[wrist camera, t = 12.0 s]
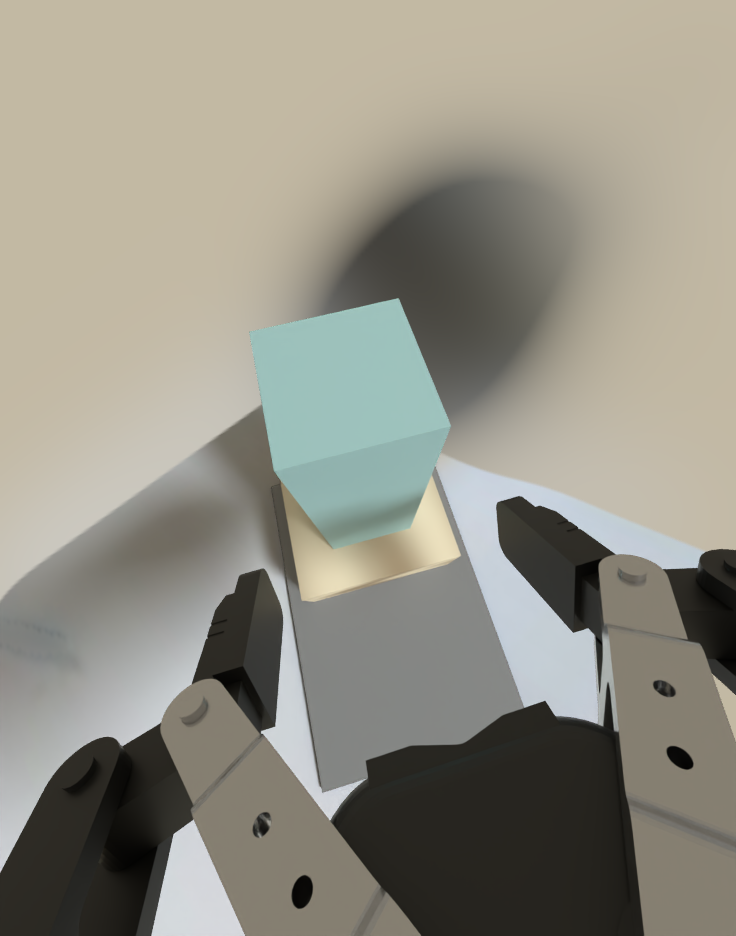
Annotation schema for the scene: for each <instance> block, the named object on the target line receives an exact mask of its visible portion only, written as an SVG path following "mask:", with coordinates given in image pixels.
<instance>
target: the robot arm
mask: <svg viewBox="0 0 736 936" xmlns="http://www.w3.org/2000/svg"><path fill="white" fill-rule="evenodd" d="M496 510H497V523H498V535H499V543H500V546H501V549H502V551H503V553H504V555H505V556H506V557H507V559H508V560H509V561H510V562H511V563H512V564H513V565H514V567H515V568H516V569H517V570H518V571H519V572H520V573H521V574H522V576H523V577H524V578H525V579H526V580H527V581H528V582H529V583H530V585H531V586H532V587H533V588H534V589H535V590H536V591H537V592H538V594H539V595H540V596H541V597H542V598H543V599H544V600H545V601H546V603H547V604H548V605H549V606H550V607H551V608H552V609H553V610H554V612H555V613H556V614H557V615H558V616H559V617H560V618H561V620H562V621H563V622H564V623H565V624H566V625H567V626H568V627H569V629H570V630H571V631H572V632H573V633H574V632H577V631H581V630H584V629H587V628H589V629H590V630H591V632H592V633H593V634H594V653H595V669H596V684H597V700H598V724H595V723H592V722H589V721H586V720H582V719H577V718H572V717H562V716H555V715H554V714H553V712H552V711H551V709H550V708H549V706H548V704H547V703H546V701H543V702H540V703H537V704H534V705H531V706H528V707H525V708H522V709H519V710H516V711H513V712H510V713H507V714H504V715H502V716H501V717H499V718H498V719H496V720H495V721H494V722H492V723H491V724H490V725H488V726H487V727H486V728H484V729H483V730H481V731H480V732H479V733H477V734H476V735H475V736H473V737H472V738H471V739H469V740H468V741H466V742H465V743H462V744H456V745H411V746H408V747H405V748H402V749H399V750H396V751H393V752H390V753H387V754H384V755H381V756H378V757H375V758H372V759H369V760H366V767H367V774H368V779H366V780H365V781H363V782H362V783H361V784H360V785H358V786H357V787H356V788H355V789H354V790H353V791H352V792H351V793H350V794H349V795H348V797H347V798H346V799H345V800H344V801H343V802H342V804H341V805H340V806H339V808H338V809H337V811H336V812H335V814H334V815H333V817H332V819H331V820H329V819H328V818H327V816H326V815H325V814H324V812H323V811H322V810H321V809H320V807H319V806H318V805H317V803H316V802H315V801H314V799H313V798H312V797H311V796H310V794H309V793H308V792H307V790H306V789H305V788H304V786H303V785H302V784H301V782H300V781H299V780H298V779H297V777H296V776H295V775H294V773H293V772H292V771H291V769H290V768H289V767H288V766H287V764H286V763H285V762H284V760H283V759H282V758H281V756H280V755H279V754H278V753H277V751H276V750H275V749H274V747H273V746H272V745H271V743H270V742H269V741H268V740H267V738H266V737H265V736H264V735H263V734H261V731H262V730H266V729H269V728H272V727H275V722H276V709H277V696H278V683H279V670H280V657H281V644H282V631H283V614H282V609H281V605H280V602H279V600H278V598H277V595H276V593H275V591H274V588H273V586H272V583H271V581H270V579H269V576H268V574H267V572H266V570H265V569H259V570H256V571H252V572H249V573H245V574H242V575H240V576H239V578H238V582H237V585H236V589H235V593H233V594H230V595H226V596H225V598H224V599H223V600H222V602H221V603H220V604H219V606H218V607H217V609H216V610H215V613H214V616H213V620H212V623H211V627H210V629H209V632H208V635H207V637H208V639H206V641H205V644H204V647H203V651H202V654H201V657H200V660H199V663H198V666H197V669H196V672H195V675H194V678H193V682H192V685H190V686H189V687H187V688H186V689H185V690H183V691H182V692H181V693H180V694H179V695H178V696H177V697H176V698H175V699H174V700H173V701H172V703H171V704H170V705H169V707H168V708H167V710H166V712H165V714H164V716H163V718H162V721H161V723H160V724H158V725H157V726H155V727H154V728H152V729H151V730H149V731H147V732H146V733H144V734H142V735H141V736H139V737H137V738H136V739H134V740H132V741H131V742H129V743H127V744H126V745H124V746H121V745H120V744H119V742H118V741H117V740H116V739H114V738H112V737H103V738H99V739H96V740H94V741H92V742H90V743H88V744H87V745H85V746H83V747H82V748H80V749H79V750H78V751H77V752H75V753H74V754H73V755H72V756H71V757H69V758H68V759H67V760H66V761H65V762H64V763H63V764H62V765H61V766H60V768H59V769H58V770H57V771H56V772H55V774H54V775H53V776H52V778H51V779H50V781H49V782H48V784H47V786H46V787H45V789H44V791H43V793H42V795H41V797H40V798H39V800H38V802H37V804H36V806H35V808H34V810H33V812H32V814H31V816H30V817H29V819H28V821H27V823H26V825H25V827H24V829H23V831H22V833H21V835H20V836H19V838H18V840H17V842H16V844H15V846H14V848H13V850H12V852H11V854H10V855H9V857H8V859H7V861H6V863H5V865H4V867H3V869H2V871H1V873H0V936H151V934H152V929H153V925H154V920H155V916H156V911H157V907H158V902H159V897H160V893H161V888H162V884H163V879H164V875H165V870H166V866H167V861H168V857H169V852H170V847H171V843H172V838H173V834H174V833H175V832H177V831H178V830H180V829H181V828H182V827H184V826H185V825H187V824H188V823H189V822H191V821H192V820H193V819H194V821H195V823H196V826H197V828H198V830H199V833H200V835H201V837H202V839H203V842H204V844H205V846H206V848H207V851H208V853H209V855H210V857H211V860H212V862H213V864H214V866H215V869H216V871H217V873H218V875H219V878H220V880H221V882H222V884H223V887H224V889H225V891H226V893H227V896H228V898H229V900H230V902H231V905H232V907H233V909H234V911H235V914H236V916H237V918H238V920H239V923H240V925H241V927H242V929H243V932H244V934H245V936H736V742H735V738H734V736H733V733H732V730H731V727H730V724H729V721H728V719H727V716H726V713H725V710H724V707H723V704H722V702H721V699H720V696H719V693H718V690H717V687H716V684H715V682H714V679H713V676H712V674H713V675H714V676H715V677H716V678H718V679H719V680H720V681H721V682H722V683H723V684H724V685H725V686H727V687H728V688H729V689H730V690H731V691H732V692H733V693H734V694H735V695H736V550H728V549H718V550H711V551H708V552H705V553H704V554H702V555H701V557H700V560H699V565H698V568H687V569H662V568H661V567H659V566H658V565H657V564H655V563H653V562H651V561H649V560H647V559H644V558H641V557H637V556H633V555H624V554H620V555H616V554H614V553H613V552H612V551H610V550H609V549H607V548H606V547H605V546H603V545H602V544H600V543H599V542H598V541H596V540H595V539H593V538H592V537H591V536H589V535H588V534H587V533H585V532H584V531H582V530H581V529H578V527H577V526H575V525H574V524H573V523H571V522H568V520H567V519H566V518H564V517H563V516H562V515H560V514H559V513H557V512H556V511H553V510H550V509H548V508H545V507H542V506H537V507H535V506H533V505H532V504H531V503H529V502H528V501H527V500H525V499H524V498H523V497H521V496H518V497H514V498H511V499H507V500H504V501H500V502H498V503H497V506H496Z"/></svg>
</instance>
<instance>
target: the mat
mask: <svg viewBox="0 0 736 936" xmlns="http://www.w3.org/2000/svg"><path fill="white" fill-rule="evenodd" d="M432 477H433V479H434V482H435V485H436V488H437V490H438V493H439V496H440V499H441V501H442V504H443V507H444V510H445V513H446V515H447V518H448V521H449V524H450V526H451V529H452V532H453V535H454V538H455V540H456V543H457V546H458V549H459V551H460V554H461V556H460V557H458V558H457V559H455V560H454V561H452V562H450V563H449V564H447V565H443V566H440V567H436V568H433V569H429V570H426V571H422V572H418V573H415V574H411V575H408V576H404V577H401V578H397V579H394V580H390V581H387V582H383V583H379V584H376V585H372V586H369V587H365V588H362V589H358V590H355V591H351V592H348V593H344V594H340V595H337V596H333V597H330V598H326V599H323V600H319V601H316V602H311V601H302V600H301V594H300V589H299V583H298V577H297V572H296V566H295V561H294V555H293V550H292V544H291V538H290V533H289V527H288V522H287V516H286V511H285V505H284V499H283V494H282V488H281V484H280V485H276V486H272V487H271V489H272V495H273V501H274V507H275V513H276V519H277V525H278V531H279V537H280V542H281V548H282V554H283V560H284V566H285V572H286V578H287V584H288V590H289V596H290V602H291V608H292V614H293V620H294V626H295V632H296V638H297V644H298V650H299V656H300V662H301V668H302V674H303V680H304V686H305V692H306V698H307V704H308V709H309V715H310V721H311V727H312V733H313V739H314V745H315V751H316V757H317V763H318V769H319V775H320V781H321V787H322V793H323V792H326V791H329V790H332V789H336V788H339V787H342V786H345V785H348V784H351V783H354V782H357V781H360V780H363V779H367V778H368V774H367V767H366V760H369V759H372V758H375V757H378V756H381V755H384V754H387V753H390V752H393V751H396V750H399V749H402V748H405V747H408V746H411V745H456V744H462V743H465V742H466V741H468V740H469V739H471V738H472V737H473V736H475V735H476V734H477V733H479V732H480V731H481V730H483V729H484V728H486V727H487V726H488V725H490V724H491V723H492V722H494V721H495V720H496V719H498V718H499V717H501V716H502V715H504V714H507V713H510V712H513V711H516V710H519V709H522V708H524V706H523V703H522V700H521V698H520V695H519V692H518V689H517V687H516V684H515V681H514V679H513V676H512V673H511V670H510V668H509V665H508V662H507V660H506V657H505V654H504V651H503V649H502V646H501V643H500V641H499V638H498V635H497V632H496V630H495V627H494V624H493V622H492V619H491V616H490V613H489V611H488V608H487V605H486V603H485V600H484V597H483V594H482V592H481V589H480V586H479V584H478V581H477V578H476V575H475V573H474V570H473V567H472V565H471V562H470V559H469V556H468V554H467V551H466V548H465V546H464V543H463V540H462V537H461V535H460V532H459V529H458V527H457V524H456V521H455V518H454V516H453V513H452V510H451V508H450V505H449V502H448V499H447V497H446V494H445V491H444V489H443V486H442V483H441V480H440V478H439V475H438V472H437V470H436V467H434V470H433V472H432Z"/></svg>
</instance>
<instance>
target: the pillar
mask: <svg viewBox="0 0 736 936" xmlns="http://www.w3.org/2000/svg"><path fill="white" fill-rule="evenodd" d="M249 333H250V339H251V345H252V350H253V356H254V362H255V367H256V372H257V378H258V384H259V390H260V395H261V401H262V407H263V412H264V418H265V424H266V429H267V435H268V440H269V446H270V452H271V457H272V463H273V469H274V472H275V473H276V475H277V476H278V477H279V479H280V480H281V481H282V482H283V484H284V485H285V486H286V488H287V489H288V490H289V492H290V493H291V494H292V496H293V497H294V498H295V499H296V501H297V502H298V503H299V505H300V506H301V507H302V509H303V510H304V511H305V513H306V514H307V515H308V516H309V518H310V519H311V520H312V522H313V523H314V524H315V526H316V527H317V528H318V530H319V531H320V532H321V533H322V535H323V536H324V537H325V539H326V540H327V541H328V543H329V544H330V545H331V547H332V548H333V549H337V548H341V547H344V546H348V545H352V544H355V543H359V542H362V541H366V540H370V539H373V538H377V537H381V536H384V535H388V534H392V533H395V532H399V531H402V530H406V529H410V528H411V525H412V523H413V520H414V518H415V515H416V513H417V510H418V508H419V505H420V503H421V500H422V498H423V495H424V493H425V490H426V488H427V485H428V483H429V480H430V478H431V475H432V472H433V470H434V467H435V465H436V462H437V460H438V457H439V455H440V452H441V450H442V447H443V445H444V442H445V440H446V437H447V435H448V432H449V430H450V427H451V425H450V423H449V420H448V418H447V415H446V413H445V410H444V408H443V406H442V403H441V401H440V398H439V396H438V394H437V391H436V388H435V386H434V384H433V381H432V379H431V376H430V374H429V372H428V370H427V367H426V364H425V362H424V359H423V357H422V354H421V352H420V349H419V347H418V345H417V342H416V340H415V337H414V335H413V333H412V330H411V328H410V325H409V323H408V320H407V318H406V315H405V313H404V310H403V308H402V306H401V303H400V301H399V299H393V300H389V301H385V302H380V303H375V304H371V305H367V306H362V307H358V308H353V309H349V310H345V311H341V312H336V313H331V314H326V315H322V316H318V317H313V318H309V319H305V320H300V321H295V322H291V323H287V324H282V325H277V326H273V327H269V328H264V329H260V330H255V331H251V332H249Z"/></svg>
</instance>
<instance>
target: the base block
mask: <svg viewBox="0 0 736 936" xmlns="http://www.w3.org/2000/svg"><path fill="white" fill-rule="evenodd" d="M280 483H281V488H282V494H283V499H284V505H285V511H286V516H287V522H288V527H289V533H290V538H291V544H292V550H293V555H294V561H295V566H296V572H297V577H298V583H299V589H300V594H301V600H302V601H311V602H316V601H319V600H323V599H326V598H330V597H333V596H337V595H340V594H344V593H348V592H351V591H355V590H358V589H362V588H365V587H369V586H372V585H376V584H379V583H383V582H387V581H390V580H394V579H397V578H401V577H404V576H408V575H411V574H415V573H418V572H422V571H426V570H429V569H433V568H436V567H440V566H443V565H447V564H449V563H450V562H452V561H454V560H455V559H457V558H458V557H460V556H461V554H460V551H459V549H458V546H457V543H456V540H455V538H454V535H453V532H452V529H451V526H450V524H449V521H448V518H447V515H446V513H445V510H444V507H443V504H442V501H441V499H440V496H439V493H438V490H437V488H436V485H435V482H434V479H433V477H432V475H431V478H430V480H429V483H428V485H427V488H426V490H425V493H424V495H423V498H422V500H421V503H420V505H419V508H418V510H417V513H416V515H415V518H414V520H413V523H412V525H411V528H410V529H406V530H402V531H399V532H395V533H392V534H388V535H384V536H381V537H377V538H373V539H370V540H366V541H362V542H359V543H355V544H352V545H348V546H344V547H341V548H337V549H333V548H332V547H331V545H330V544H329V543H328V541H327V540H326V539H325V537H324V536H323V535H322V533H321V532H320V531H319V530H318V528H317V527H316V526H315V524H314V523H313V522H312V520H311V519H310V518H309V516H308V515H307V514H306V513H305V511H304V510H303V509H302V507H301V506H300V505H299V503H298V502H297V501H296V499H295V498H294V497H293V496H292V494H291V493H290V492H289V490H288V489H287V488H286V486H285V485H284V484H283V482H282V481H281V480H280Z"/></svg>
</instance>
